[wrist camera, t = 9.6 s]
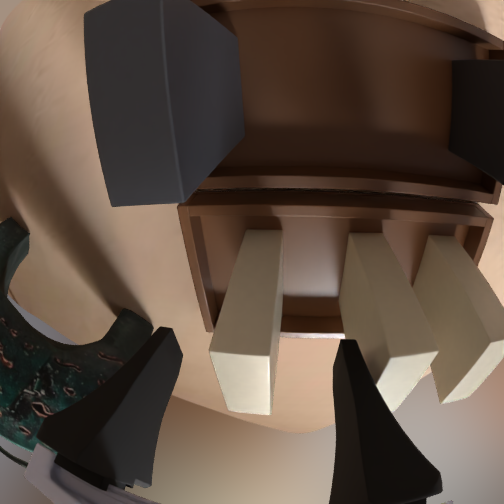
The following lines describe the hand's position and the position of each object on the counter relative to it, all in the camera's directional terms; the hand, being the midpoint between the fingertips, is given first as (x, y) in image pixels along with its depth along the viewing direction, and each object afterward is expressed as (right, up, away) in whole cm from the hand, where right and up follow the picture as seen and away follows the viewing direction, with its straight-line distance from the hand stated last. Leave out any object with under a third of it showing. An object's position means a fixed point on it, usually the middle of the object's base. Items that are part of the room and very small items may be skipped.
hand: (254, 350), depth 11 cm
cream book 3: (+11, +3, +3) cm, 12 cm away
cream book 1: (+1, +3, +5) cm, 6 cm away
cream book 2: (+6, +3, +4) cm, 8 cm away
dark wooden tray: (+5, +12, -1) cm, 13 cm away
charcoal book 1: (-2, +12, 0) cm, 12 cm away
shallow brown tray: (+5, +3, +5) cm, 8 cm away
